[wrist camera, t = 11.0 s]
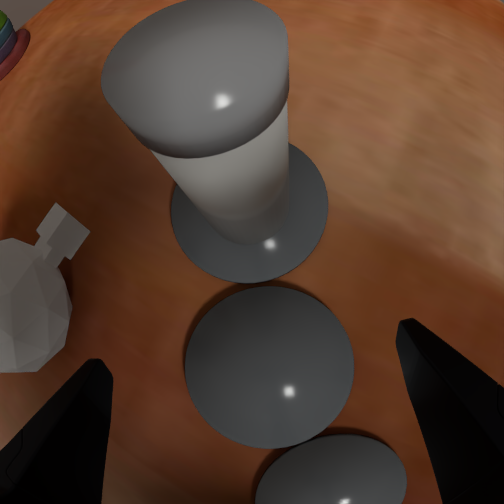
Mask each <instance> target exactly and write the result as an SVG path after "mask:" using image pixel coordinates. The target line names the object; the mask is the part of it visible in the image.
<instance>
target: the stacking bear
mask: <svg viewBox="0 0 504 504" xmlns="http://www.w3.org/2000/svg"><path fill="white" fill-rule="evenodd" d="M29 39H30V34H29V32H28V31H27V30H26V29H20V30H18V31H16V32H15V31H14V29H13V25H12V23H11V21H10V19H9V18H7V15H6V14H4V13H3V12H2V11H1V10H0V80H1V79H2V78H4V77H5V76H6V75H7V74H8V73H9V72H10V71H11V69H12V68H13V67H14V66H15V65H16V64H17V62H18V61H19V60H20V58H21V57H22V55H23V54H24V52H25V50H26V48H27V46H28V43H29Z"/></svg>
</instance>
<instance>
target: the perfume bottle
mask: <svg viewBox="0 0 504 504" xmlns="http://www.w3.org/2000/svg"><path fill="white" fill-rule="evenodd" d="M36 231H37V232H38V234H39V235H40V238H39V239H38V241H37V243H36V244H35V246H32V245H30V244H27V243H25V242H22V241H20V240H17V239H14V238H9V239H5V240H1V241H0V372H37V371H38V370H39V369H40V368H41V367H42V366H44V365H45V364H46V363H47V362H48V361H49V360H50V359H51V358H52V357H53V356H54V355H55V354H56V353H58V352H59V351H60V350H61V349H62V348H63V347H64V346H65V341H66V336H67V331H68V326H69V321H70V316H71V311H72V304H71V301H70V297H69V294H68V291H67V287H66V284H65V281H64V279H63V276H62V274H61V272H60V270H59V268H58V265H59V264H60V262H61V261H62V259H63V258H64V256H65V257H67V258H68V259H69V260H71V259H72V257H73V256H74V254H75V253H76V251H77V250H78V249H79V247H80V246H81V244H82V243H83V241H84V240H85V239H86V237H87V236H88V234H89V233H90V231H89V230H88V229H87V228H86V227H84V226H83V225H82V224H81V223H80V222H79V221H77V220H76V219H75V218H74V217H73V216H71V215H70V214H69V213H68V212H67V211H65V210H64V209H63V208H62V207H61V206H60V205H58V204H57V203H55V204H54V205H53V207H52V208H51V210H50V211H49V212H48V214H47V215H46V217H45V218H44V219H43V221H42V222H41V224H40V225H39V227H38V228H37V230H36Z"/></svg>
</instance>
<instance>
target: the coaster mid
mask: <svg viewBox="0 0 504 504" xmlns="http://www.w3.org/2000/svg"><path fill="white" fill-rule="evenodd" d="M353 376H354V358H353V352H352V347H351V344H350V341H349V338H348V336H347V334H346V332H345V330H344V328H343V326H342V325H341V323H340V322H339V320H338V319H337V318H336V317H335V315H334V314H333V313H332V312H331V311H330V310H329V309H328V308H327V307H325V306H324V305H323V304H322V303H320V302H319V301H317V300H316V299H314V298H313V297H311V296H309V295H307V294H305V293H302V292H299V291H296V290H293V289H289V288H284V287H275V286H265V287H256V288H250V289H246V290H243V291H240V292H237V293H235V294H233V295H231V296H228V297H227V298H225V299H223V300H222V301H220V302H219V303H217V304H216V305H215V306H214V307H213V308H211V309H210V310H209V311H208V312H207V314H206V315H205V316H204V317H203V318H202V319H201V321H200V322H199V324H198V325H197V326H196V328H195V330H194V332H193V334H192V336H191V339H190V342H189V344H188V348H187V352H186V359H185V377H186V382H187V387H188V390H189V393H190V397H191V399H192V401H193V403H194V405H195V407H196V408H197V410H198V411H199V413H200V414H201V416H202V417H203V418H204V419H205V420H206V422H207V423H208V424H209V425H210V426H212V427H213V428H214V429H215V430H216V431H218V432H219V433H220V434H222V435H223V436H225V437H227V438H229V439H231V440H233V441H235V442H237V443H240V444H243V445H246V446H250V447H255V448H264V449H274V448H283V447H289V446H292V445H296V444H299V443H302V442H304V441H306V440H308V439H310V438H312V437H314V436H316V435H317V434H319V433H320V432H321V431H323V430H324V429H325V428H326V427H327V426H328V425H329V424H331V423H332V422H333V421H334V419H335V418H336V417H337V416H338V414H339V413H340V412H341V410H342V408H343V407H344V405H345V403H346V401H347V399H348V396H349V394H350V391H351V387H352V383H353Z"/></svg>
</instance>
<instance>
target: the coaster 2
mask: <svg viewBox="0 0 504 504" xmlns="http://www.w3.org/2000/svg"><path fill="white" fill-rule="evenodd" d="M406 486H407V477H406V472H405V469H404V466H403V464H402V462H401V460H400V459H399V457H398V456H397V455H396V454H395V453H394V452H393V450H392V449H391V448H389V447H388V446H387V445H385V444H384V443H382V442H380V441H378V440H376V439H373V438H371V437H368V436H363V435H358V434H331V435H325V436H320V437H317V438H313V439H310V440H307V441H305V442H303V443H300V444H298V445H296V446H294V447H292V448H290V449H289V450H287V451H286V452H284V453H283V454H282V455H280V456H279V457H278V458H277V459H276V460H275V461H273V463H272V464H271V465H270V466H269V467H268V468H267V470H266V471H265V473H264V474H263V476H262V478H261V480H260V482H259V485H258V488H257V491H256V498H255V504H401V503H402V501H403V499H404V496H405V493H406Z"/></svg>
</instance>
